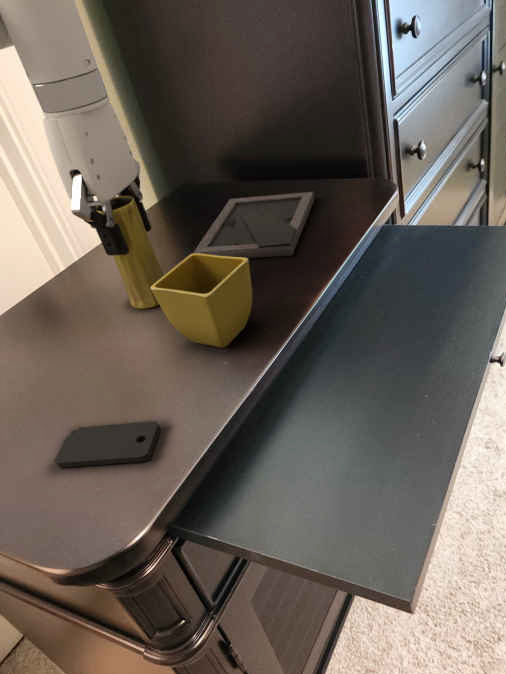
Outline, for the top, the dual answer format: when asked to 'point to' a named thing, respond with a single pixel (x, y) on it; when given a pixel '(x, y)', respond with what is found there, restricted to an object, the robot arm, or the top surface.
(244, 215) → the picture frame
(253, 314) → the top surface
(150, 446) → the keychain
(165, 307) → the flower pot
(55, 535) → the top surface
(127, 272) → the vase
